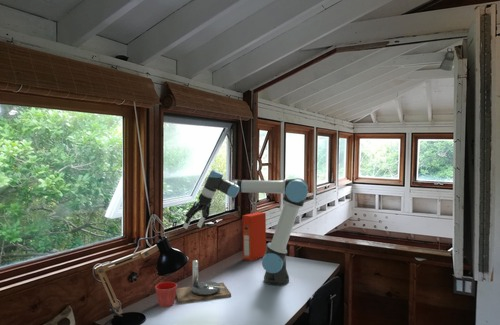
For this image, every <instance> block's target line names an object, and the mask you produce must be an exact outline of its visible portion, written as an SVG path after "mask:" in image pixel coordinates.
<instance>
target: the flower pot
mask: <svg viewBox="0 0 500 325" xmlns="http://www.w3.org/2000/svg"><path fill="white" fill-rule="evenodd" d="M177 288H178V284H177V283H176V282H174V281H163V282H159V283H158V284H156V285H155V295H156V298H157V302H158V306H159V307H161V308H162V307H163V308H167V307H171V306H173V305H174V304H175V300H176V289H177Z"/></svg>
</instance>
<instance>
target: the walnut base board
mask: <svg viewBox="0 0 500 325" xmlns="http://www.w3.org/2000/svg"><path fill="white" fill-rule="evenodd" d="M218 283H219V284H220V286H222V287H224V288H220V292H218V293H217V294H214V295H209V296H199V295H195V294H193V293H192V292H191V287H192V285H191V286H183V287H177V289H176V295H175V297H176V299H177V302H178V304H179V305H180V304H186V303H194V302H201V301H202V302H204V301H209V300H216V299H224V298H231V297H232V293H231V292H230V290H229V288H228V287H227V286H226V284H225V283H224V282H218Z"/></svg>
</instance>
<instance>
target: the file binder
mask: <svg viewBox="0 0 500 325" xmlns="http://www.w3.org/2000/svg"><path fill="white" fill-rule="evenodd" d="M266 216H267V215H266V212H260V211H259V212H258V211H257V212H253V213H247V214H244V215H243V214H242V216H241V217H242V259H243V260H245V261H247V262H248V261H249V262H252V261H255V260H258V259H260V258H263V257H264V254H265V251H266V247H267V232H266V231H267V228H266V226H267V223H266V222H267V221H266V220H267V219H266Z"/></svg>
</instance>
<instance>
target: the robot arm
mask: <svg viewBox="0 0 500 325" xmlns="http://www.w3.org/2000/svg"><path fill="white" fill-rule="evenodd" d="M217 191H219V192H221V193H223V194H225V195H227V196H228V197H230V198H236V197H237V196H238V194H239V193H248V194H249V193H253V194H255V193H256V194H283V197H282V200H283V202H284V203H283V207H282V210H281V213H280V216H279V218H278V221H277V223H276V224H277V225H276V228H275V231H274V234H273V237H272V239H271V242H268V243H267V242H266V251H265V254H264V256H263V257H261V258H262V259H261V265H262V268H263V270H265V273H264V276H263V282H264V283H265V284H267V285H272V286H283V285H287V284H288V283H289V282H290V277H289V276H290V275H289V272H288V270H287V254H288V250H287V246H288V242H289V239H290V237H291V235H292V234H291V233H292V231H293V228H294V224H295V222H296V219H297V216H298V213H299V210H300V209H301V208H303V207H304V204H305V201H306V199H307V196H308V193H309V185H308V182H307V181H306V180H304V179H303V178H299V177H296V178H284V179H283V180H264V179H263V180H258V179H256V180H253V179H249V180H248V179H237V178H236V179H231V180H227V179H225V178H224V174H223V173H222V172H221V171H218V170H216V169H212V170H211V171H210V173H209V174H208V176H207V179H206V181H205V183H204V185H203V188H202V190H201V193H200V194H199V196H198V202H197V201H195V202H193V205H192V206H191V207H190V208H189V210H188V211H187V212H186V214H185V216H184V217H186V219H185V222H184V223H183V226H182V228H184V229H186V230H188V228H189V225H190V223H191V221H192V218H193V217H194V216H195V215H196V214H197V213H198V212H200V211H201V214H202V216H200V218H199V220H198V222H197V225H196V226H197V227H198V228H200V229H202V226H203V224H204V222H205V220H206V219H207V220H208V217H210V210H211V206H212V203H211V202H212V200H213V198H214V196H215V194H216V192H217Z"/></svg>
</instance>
